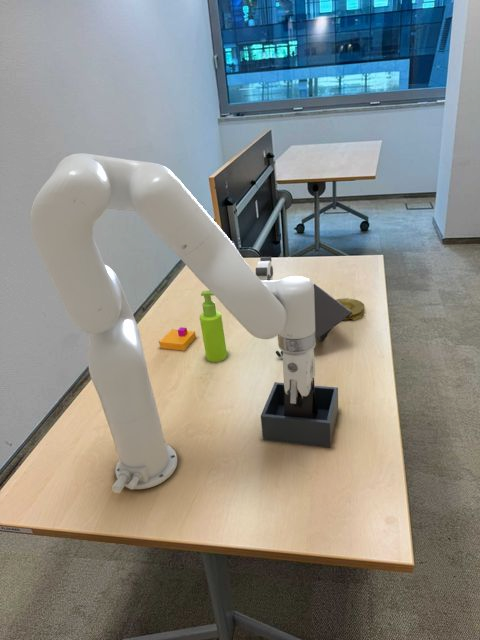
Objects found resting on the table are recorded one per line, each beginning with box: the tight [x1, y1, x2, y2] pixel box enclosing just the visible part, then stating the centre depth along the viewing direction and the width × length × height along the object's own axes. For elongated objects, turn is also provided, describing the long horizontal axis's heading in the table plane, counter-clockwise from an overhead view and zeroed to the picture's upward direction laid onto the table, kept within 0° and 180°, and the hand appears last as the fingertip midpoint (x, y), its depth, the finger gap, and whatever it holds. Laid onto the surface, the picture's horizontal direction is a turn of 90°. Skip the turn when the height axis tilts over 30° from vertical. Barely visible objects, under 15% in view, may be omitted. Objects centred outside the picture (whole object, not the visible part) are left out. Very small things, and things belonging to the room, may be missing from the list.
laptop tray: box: [275, 283, 352, 360], centre depth 139 cm, size 23×23×9 cm
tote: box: [260, 381, 339, 449], centre depth 105 cm, size 13×15×7 cm
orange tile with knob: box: [158, 326, 197, 352], centre depth 143 cm, size 8×8×4 cm
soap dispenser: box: [199, 289, 228, 363], centre depth 130 cm, size 6×7×20 cm
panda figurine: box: [255, 256, 274, 281], centre depth 159 cm, size 12×11×15 cm
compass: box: [335, 297, 365, 321], centre depth 151 cm, size 12×12×2 cm
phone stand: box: [284, 377, 318, 419], centre depth 103 cm, size 9×6×12 cm, turn 164°
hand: (300, 410), depth 104 cm, fingers closed, pressing on phone stand
